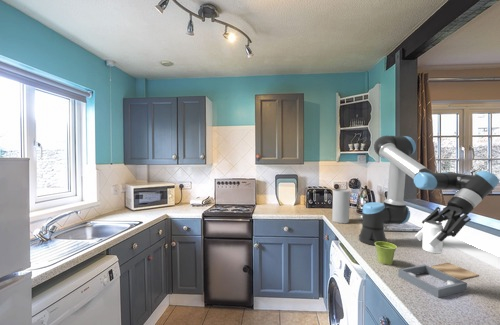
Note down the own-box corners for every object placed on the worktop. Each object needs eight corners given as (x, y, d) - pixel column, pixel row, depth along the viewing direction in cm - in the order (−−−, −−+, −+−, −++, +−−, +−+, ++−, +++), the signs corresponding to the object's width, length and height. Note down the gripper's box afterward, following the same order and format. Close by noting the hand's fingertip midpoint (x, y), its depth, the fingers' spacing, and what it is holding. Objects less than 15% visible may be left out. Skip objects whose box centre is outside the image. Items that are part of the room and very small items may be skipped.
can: (422, 246, 100) (423, 219, 99) (442, 250, 96) (443, 221, 95) (421, 251, 95) (422, 222, 94) (442, 255, 91) (443, 225, 90)
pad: (430, 266, 110) (430, 265, 110) (448, 263, 113) (448, 262, 113) (460, 279, 98) (460, 278, 98) (478, 275, 102) (478, 274, 102)
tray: (398, 276, 101) (398, 269, 101) (424, 271, 106) (424, 264, 106) (437, 297, 85) (438, 289, 85) (466, 290, 90) (466, 283, 90)
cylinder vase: (352, 222, 182) (353, 191, 181) (340, 224, 177) (341, 191, 176) (340, 218, 193) (340, 188, 193) (328, 220, 188) (329, 189, 187)
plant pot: (387, 268, 108) (388, 249, 107) (369, 259, 116) (370, 242, 116) (400, 264, 111) (401, 247, 111) (382, 256, 120) (383, 240, 120)
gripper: (495, 214, 86) (451, 258, 86) (448, 203, 105) (412, 239, 105) (482, 200, 85) (438, 244, 85) (437, 192, 105) (401, 227, 104)
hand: (424, 241), depth 95 cm, fingers closed on can, 6 cm apart
